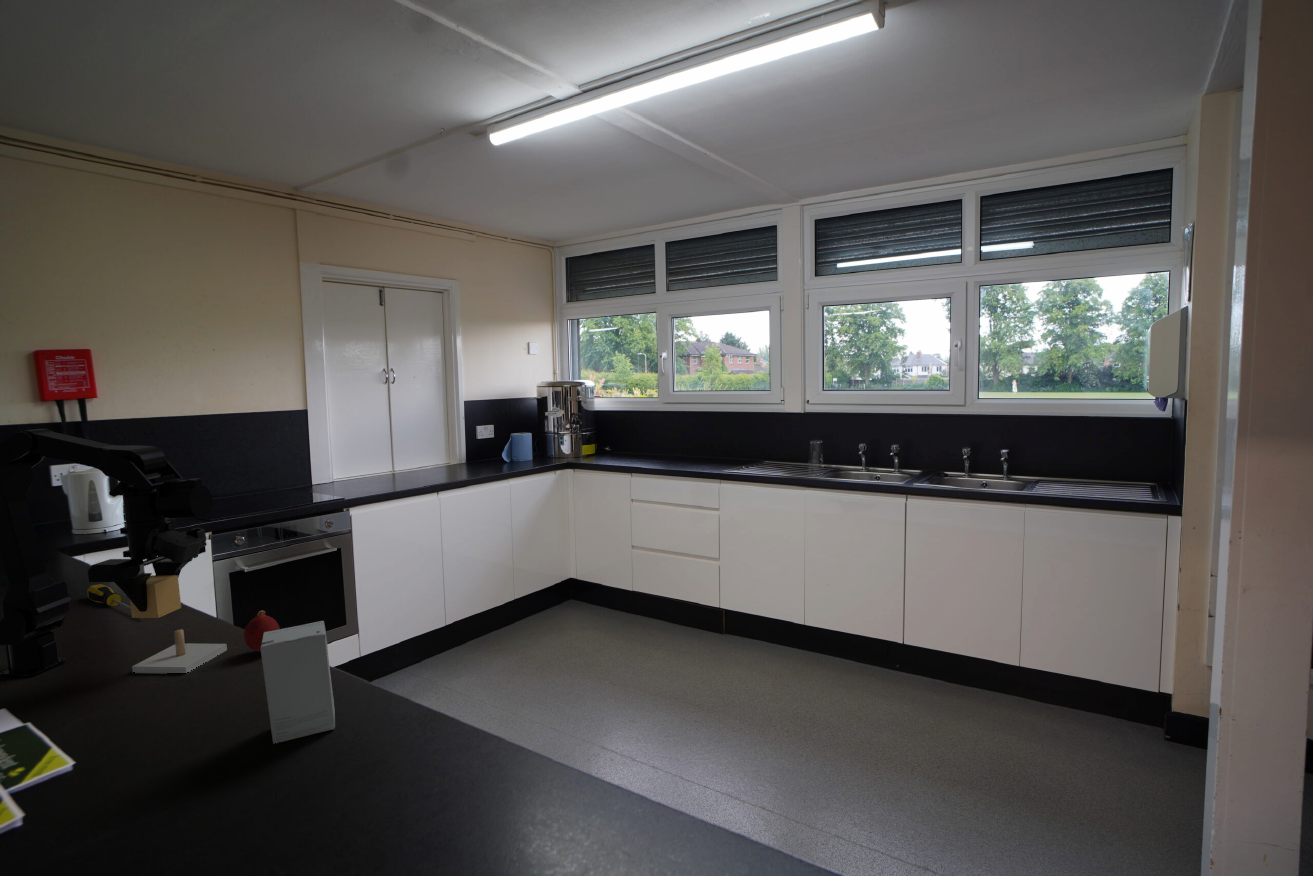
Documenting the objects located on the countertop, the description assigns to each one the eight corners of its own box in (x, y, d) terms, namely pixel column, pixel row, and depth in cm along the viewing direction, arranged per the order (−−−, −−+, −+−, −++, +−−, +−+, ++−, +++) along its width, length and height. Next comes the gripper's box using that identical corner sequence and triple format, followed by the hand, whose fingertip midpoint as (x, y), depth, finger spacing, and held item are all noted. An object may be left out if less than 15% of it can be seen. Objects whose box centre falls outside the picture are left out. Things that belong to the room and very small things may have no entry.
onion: (265, 660, 123) (261, 617, 122) (238, 658, 124) (234, 616, 123) (288, 647, 129) (285, 606, 128) (262, 645, 130) (258, 605, 129)
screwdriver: (84, 585, 160) (135, 610, 143) (102, 582, 163) (154, 605, 146) (86, 600, 160) (137, 626, 144) (103, 595, 163) (156, 621, 146)
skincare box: (334, 713, 103) (327, 618, 102) (335, 731, 98) (327, 632, 96) (271, 727, 100) (263, 629, 98) (268, 747, 94) (259, 644, 93)
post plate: (132, 673, 119) (129, 641, 118) (177, 649, 129) (174, 620, 128) (186, 673, 118) (183, 642, 118) (227, 650, 128) (224, 620, 128)
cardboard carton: (131, 617, 118) (127, 584, 117) (155, 607, 123) (152, 575, 122) (158, 617, 117) (154, 584, 117) (181, 607, 122) (177, 575, 122)
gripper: (142, 531, 108) (153, 626, 110) (228, 507, 127) (236, 588, 128) (79, 532, 109) (91, 626, 111) (173, 508, 128) (182, 588, 129)
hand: (156, 606), depth 120 cm, fingers closed on cardboard carton, 5 cm apart
